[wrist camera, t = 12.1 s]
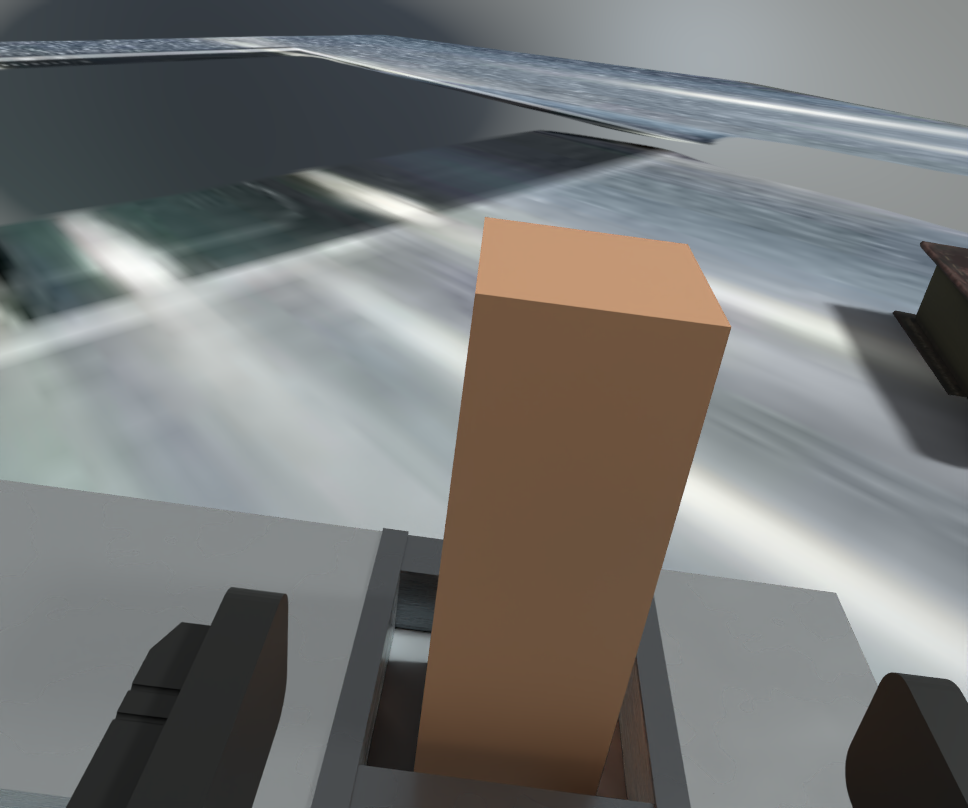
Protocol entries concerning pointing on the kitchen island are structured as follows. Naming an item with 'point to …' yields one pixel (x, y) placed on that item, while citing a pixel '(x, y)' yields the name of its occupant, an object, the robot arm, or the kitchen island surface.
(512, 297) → the block
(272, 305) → the kitchen island surface
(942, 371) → the diary
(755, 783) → the grey slotted base
